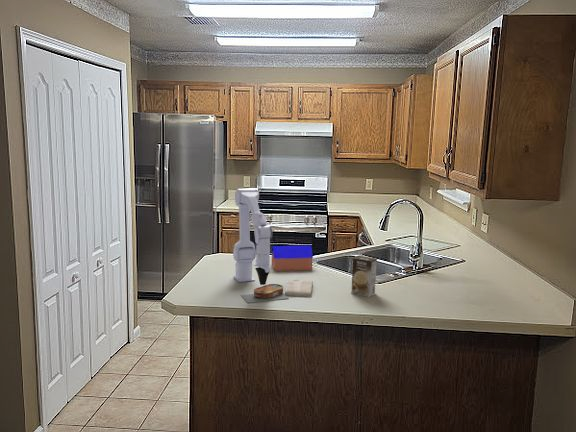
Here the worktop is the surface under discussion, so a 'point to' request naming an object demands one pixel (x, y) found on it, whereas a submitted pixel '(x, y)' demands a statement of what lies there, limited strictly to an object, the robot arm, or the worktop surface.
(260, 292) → the tin
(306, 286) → the washcloth
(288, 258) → the two-tone brick
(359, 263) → the coffee box
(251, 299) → the mat
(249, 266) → the robot arm
